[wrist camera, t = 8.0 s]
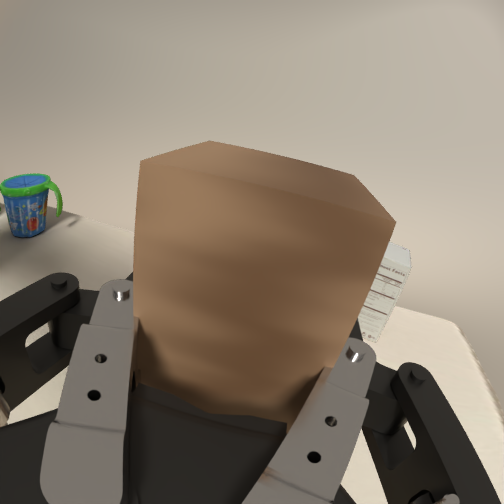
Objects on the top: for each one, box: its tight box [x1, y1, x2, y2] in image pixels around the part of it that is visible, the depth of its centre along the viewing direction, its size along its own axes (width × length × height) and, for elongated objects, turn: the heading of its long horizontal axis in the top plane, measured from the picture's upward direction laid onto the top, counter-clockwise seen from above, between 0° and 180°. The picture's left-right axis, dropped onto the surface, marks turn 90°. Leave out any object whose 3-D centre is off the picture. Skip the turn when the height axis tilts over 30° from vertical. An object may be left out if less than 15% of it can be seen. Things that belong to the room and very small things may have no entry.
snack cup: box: [0, 174, 63, 237], centre depth 47 cm, size 16×10×10 cm
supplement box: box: [358, 242, 411, 342], centre depth 43 cm, size 7×7×13 cm
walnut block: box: [133, 141, 396, 434], centre depth 10 cm, size 5×5×12 cm
